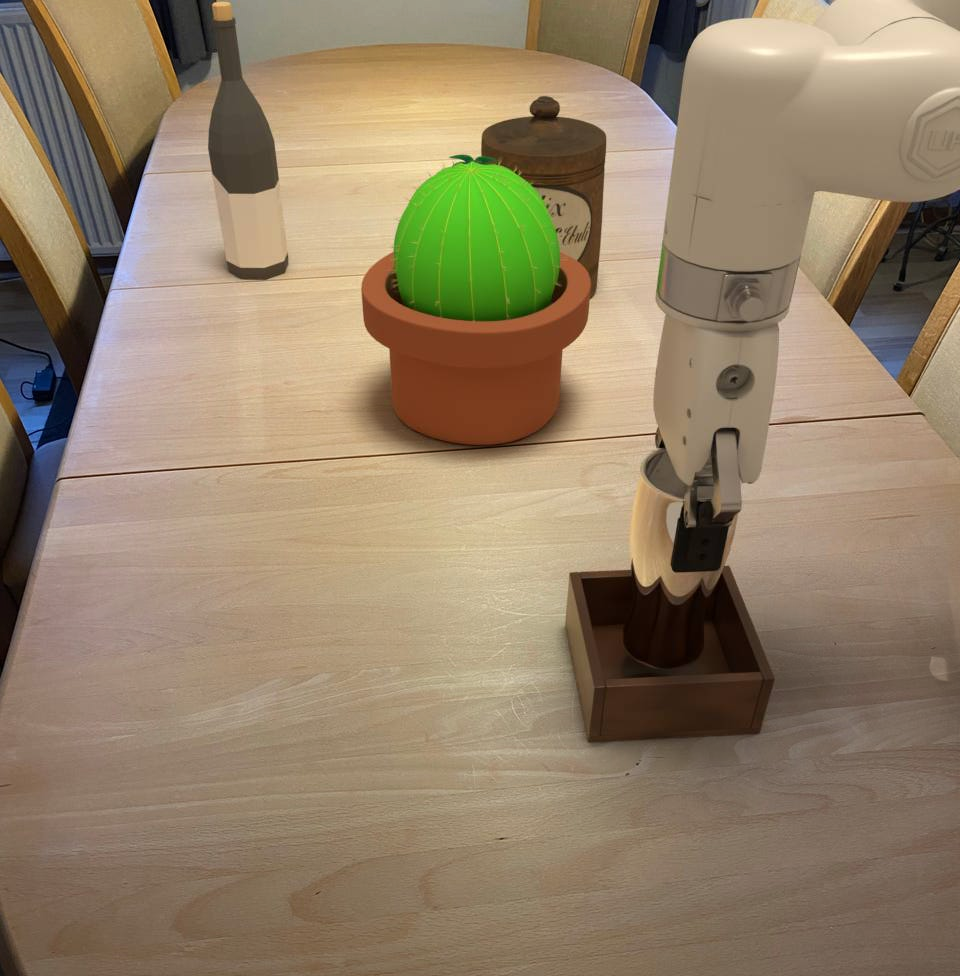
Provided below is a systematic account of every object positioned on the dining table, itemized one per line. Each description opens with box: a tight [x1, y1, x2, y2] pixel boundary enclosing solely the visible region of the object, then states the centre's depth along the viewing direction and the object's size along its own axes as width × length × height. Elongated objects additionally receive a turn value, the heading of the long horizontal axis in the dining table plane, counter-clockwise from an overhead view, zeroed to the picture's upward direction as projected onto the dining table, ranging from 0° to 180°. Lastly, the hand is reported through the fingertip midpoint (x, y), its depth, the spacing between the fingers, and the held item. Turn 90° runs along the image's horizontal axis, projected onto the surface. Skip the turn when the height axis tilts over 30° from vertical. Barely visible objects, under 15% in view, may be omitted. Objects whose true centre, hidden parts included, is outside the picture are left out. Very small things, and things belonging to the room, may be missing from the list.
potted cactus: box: [360, 154, 591, 446], centre depth 101 cm, size 22×22×25 cm
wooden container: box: [480, 95, 607, 298], centre depth 123 cm, size 15×15×22 cm
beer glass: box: [622, 447, 743, 670], centre depth 71 cm, size 7×7×15 cm
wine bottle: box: [207, 1, 289, 280], centre depth 125 cm, size 8×8×30 cm
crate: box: [564, 565, 776, 743], centre depth 77 cm, size 13×13×6 cm
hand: (681, 531), depth 69 cm, fingers closed on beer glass, 7 cm apart
